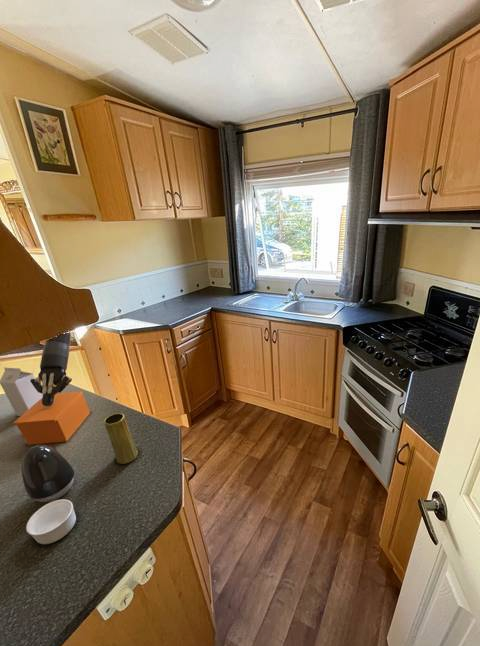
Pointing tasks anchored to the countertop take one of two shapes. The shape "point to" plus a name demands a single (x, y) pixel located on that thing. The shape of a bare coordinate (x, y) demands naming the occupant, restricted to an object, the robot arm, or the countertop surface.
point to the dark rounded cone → (46, 473)
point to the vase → (120, 438)
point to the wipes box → (57, 425)
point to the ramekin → (52, 521)
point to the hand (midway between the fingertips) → (47, 405)
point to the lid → (48, 409)
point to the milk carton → (19, 389)
